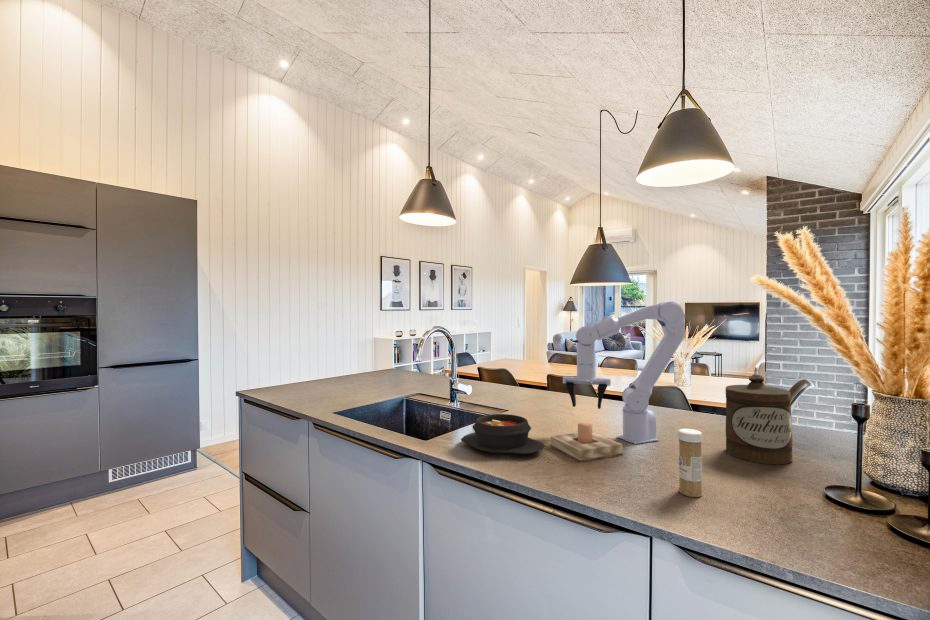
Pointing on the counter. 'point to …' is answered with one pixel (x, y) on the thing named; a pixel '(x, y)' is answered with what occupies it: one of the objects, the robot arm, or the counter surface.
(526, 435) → the casserole
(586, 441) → the terracotta peg
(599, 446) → the oak socket block
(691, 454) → the sprinkles bottle
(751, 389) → the wooden container
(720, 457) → the counter surface
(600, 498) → the counter surface
